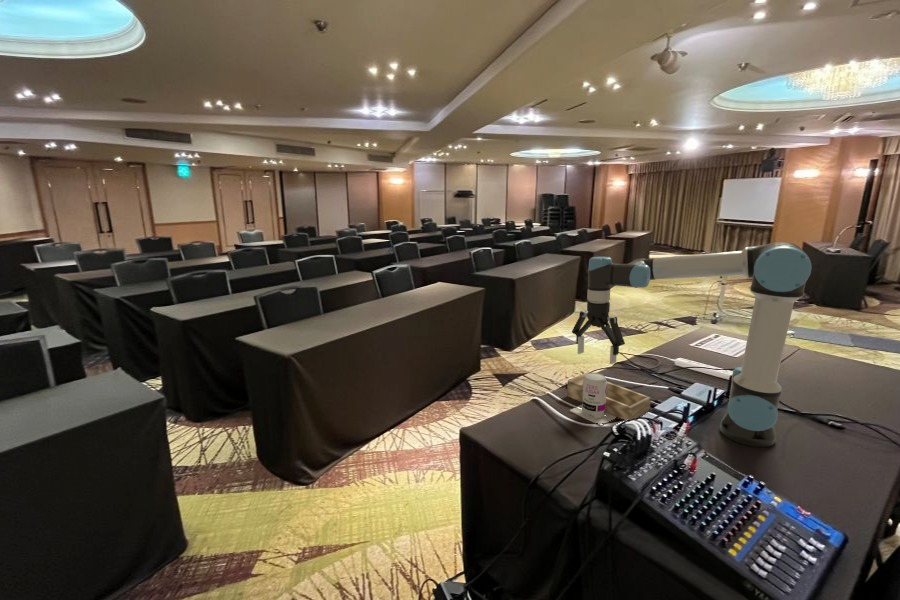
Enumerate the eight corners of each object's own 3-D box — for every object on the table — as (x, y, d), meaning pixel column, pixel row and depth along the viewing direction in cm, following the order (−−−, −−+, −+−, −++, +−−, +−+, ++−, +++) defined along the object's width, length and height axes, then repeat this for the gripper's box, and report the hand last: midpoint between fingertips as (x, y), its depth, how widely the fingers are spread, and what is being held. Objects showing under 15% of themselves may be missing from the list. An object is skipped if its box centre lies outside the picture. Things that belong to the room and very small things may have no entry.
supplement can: (601, 408, 157) (603, 372, 154) (607, 419, 149) (609, 381, 146) (580, 408, 158) (581, 372, 155) (584, 419, 150) (586, 381, 147)
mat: (616, 418, 151) (616, 417, 151) (601, 426, 146) (601, 424, 146) (584, 404, 162) (584, 403, 162) (569, 411, 157) (569, 410, 157)
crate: (649, 412, 154) (650, 394, 153) (629, 423, 147) (630, 405, 146) (587, 387, 177) (587, 372, 175) (567, 396, 170) (567, 380, 168)
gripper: (637, 305, 137) (634, 364, 141) (576, 294, 157) (574, 347, 161) (624, 308, 132) (621, 370, 137) (563, 297, 152) (562, 351, 157)
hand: (596, 357), depth 149 cm, fingers open, 13 cm apart
